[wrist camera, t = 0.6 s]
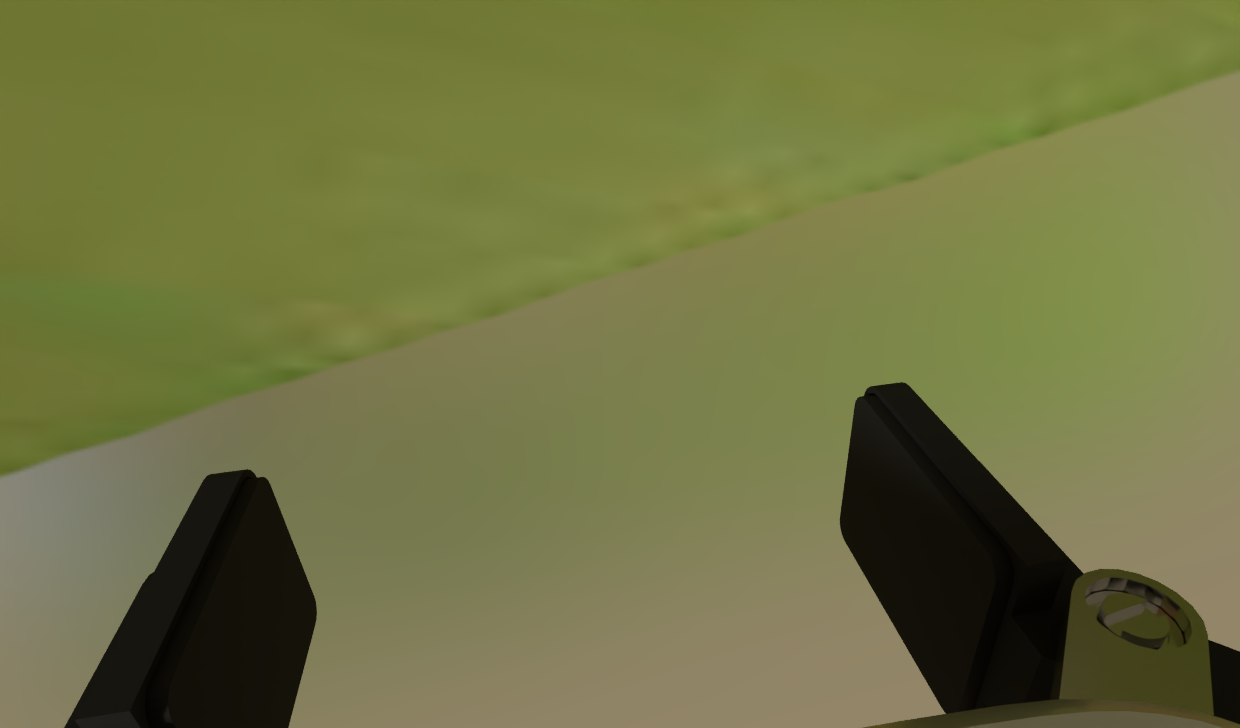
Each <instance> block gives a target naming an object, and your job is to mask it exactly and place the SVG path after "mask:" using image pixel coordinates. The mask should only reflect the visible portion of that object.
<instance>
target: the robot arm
mask: <svg viewBox="0 0 1240 728" xmlns="http://www.w3.org/2000/svg"><path fill="white" fill-rule="evenodd" d="M840 527H841V532H842V535H843V538H844V540H845V542H846V544H847V546H848V547H849V549H850V551H851V552H852V554H853V556H854V557H855V559H856V561H857V563H858V565H859V566H860V568H861V570H862V571H863V573H864V575H865V577H866V578H867V580H868V582H869V584H870V585H871V587H872V589H873V590H874V592H875V594H876V596H877V597H878V599H879V601H880V602H881V604H882V606H883V608H884V609H885V611H886V613H887V614H888V616H889V618H890V619H891V621H892V623H893V625H894V626H895V628H896V630H897V632H898V633H899V635H900V637H901V639H902V640H903V642H904V644H905V645H906V647H907V649H908V651H909V652H910V654H911V656H912V657H913V659H914V661H915V663H916V664H917V666H918V668H919V669H920V671H921V673H922V675H923V676H924V678H925V680H926V681H927V683H928V685H929V686H930V688H931V690H932V692H933V694H934V695H935V697H936V699H937V700H938V702H939V704H940V706H941V707H942V708H943V710H944V712H945V713H946V714H943V715H937V716H930V717H924V718H917V719H911V720H905V721H898V722H893V723H887V724H881V725H875V726H870V727H864V728H1240V652H1239V651H1236V650H1233V649H1231V648H1229V647H1226V646H1223V645H1221V644H1218V643H1215V642H1213V641H1210V640H1208V635H1207V631H1206V628H1205V625H1204V622H1203V620H1202V618H1201V617H1200V616H1199V614H1198V613H1197V612H1196V610H1195V609H1194V608H1193V606H1192V605H1191V604H1189V603H1188V602H1187V601H1186V600H1184V598H1182V597H1181V596H1180V595H1179V594H1178V593H1176V592H1175V591H1173V590H1171V589H1170V588H1168V587H1166V586H1165V585H1163V584H1161V583H1159V582H1158V581H1155V580H1153V579H1150V578H1148V577H1145V576H1143V575H1140V574H1137V573H1133V572H1128V571H1124V570H1119V569H1098V570H1094V571H1090V572H1087V573H1085V574H1083V573H1082V572H1081V570H1080V569H1079V568H1078V567H1077V566H1076V565H1075V564H1074V563H1073V562H1072V561H1071V560H1070V559H1069V557H1068V556H1067V555H1066V554H1065V553H1064V552H1063V551H1062V550H1061V549H1060V548H1059V547H1058V546H1057V545H1056V544H1055V542H1054V541H1053V540H1052V539H1051V538H1050V537H1049V536H1048V535H1047V534H1046V533H1045V532H1044V530H1043V529H1042V528H1041V527H1040V526H1039V525H1038V524H1037V523H1036V522H1035V521H1034V520H1033V519H1032V518H1031V517H1030V516H1029V514H1028V513H1027V512H1026V511H1025V510H1024V509H1023V508H1022V507H1021V506H1020V505H1019V504H1018V503H1017V501H1016V500H1015V499H1014V498H1013V497H1012V496H1011V495H1010V494H1009V493H1008V492H1007V491H1006V489H1005V488H1004V487H1003V486H1002V485H1001V484H1000V483H999V482H998V481H997V480H996V479H995V478H994V477H993V475H991V473H990V472H989V471H988V470H987V469H986V468H985V467H984V466H983V465H982V464H981V463H980V462H979V461H978V460H977V459H976V457H975V456H974V455H973V454H972V453H971V452H970V451H969V450H968V449H967V448H966V447H965V446H964V445H963V443H961V441H960V440H958V438H957V437H956V436H955V435H954V434H953V433H952V432H951V431H950V429H949V428H948V427H947V426H946V425H945V424H944V423H943V422H942V421H941V420H940V419H939V418H938V417H937V415H935V413H934V412H933V411H932V410H931V409H930V408H929V407H928V406H927V405H926V404H925V403H924V401H923V400H922V399H921V398H920V397H919V396H918V395H917V394H916V393H915V392H914V391H913V390H912V388H911V387H910V386H909V385H907V384H906V383H902V382H901V383H894V384H886V385H878V386H871V387H869V388H867V390H866V392H865V395H864V396H862V397H859V398H857V400H856V402H855V408H854V415H853V423H852V431H851V438H850V446H849V453H848V461H847V468H846V476H845V484H844V491H843V499H842V506H841V514H840ZM316 615H317V610H316V601H315V598H314V595H313V592H312V590H311V587H310V585H309V582H308V580H307V577H306V574H305V572H304V569H303V567H302V564H301V562H300V559H299V557H298V554H297V552H296V549H295V547H294V544H293V541H292V539H291V537H290V534H289V531H288V529H287V526H286V524H285V521H284V518H283V516H282V514H281V511H280V508H279V506H278V503H277V501H276V498H275V496H274V493H273V491H272V488H271V486H270V483H269V481H268V480H267V479H266V478H265V477H260V478H257V477H256V475H255V474H254V473H253V472H252V471H251V470H248V469H247V470H240V471H232V472H224V473H217V474H210V475H208V476H207V477H206V478H205V479H204V480H203V482H202V484H201V486H200V488H199V490H198V491H197V493H196V495H195V497H194V499H193V501H192V502H191V504H190V506H189V508H188V510H187V512H186V514H185V516H184V517H183V519H182V521H181V523H180V525H179V527H178V528H177V530H176V532H175V534H174V536H173V538H172V540H171V541H170V543H169V545H168V547H167V549H166V551H165V553H164V555H163V557H162V558H161V560H160V562H159V564H158V566H157V568H156V569H155V572H153V573H152V574H150V575H149V576H148V578H147V579H146V580H145V582H144V583H143V584H142V586H141V588H140V590H139V592H138V594H137V595H136V597H135V599H134V601H133V603H132V605H131V607H130V608H129V610H128V612H127V614H126V616H125V617H124V619H123V621H122V623H121V625H120V627H119V629H118V630H117V632H116V634H115V636H114V638H113V640H112V641H111V643H110V645H109V647H108V649H107V651H106V652H105V654H104V656H103V658H102V660H101V661H100V663H99V665H98V667H97V669H96V671H95V672H94V674H93V676H92V678H91V680H90V682H89V683H88V685H87V687H86V689H85V691H84V693H83V694H82V696H81V698H80V700H79V702H78V704H77V706H76V707H75V709H74V711H73V713H72V715H71V717H70V718H69V720H68V722H67V724H66V726H65V727H64V728H288V726H289V722H290V719H291V715H292V711H293V707H294V704H295V700H296V696H297V692H298V688H299V684H300V681H301V677H302V673H303V669H304V665H305V662H306V658H307V654H308V650H309V646H310V643H311V639H312V635H313V631H314V627H315V623H316Z"/></svg>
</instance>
